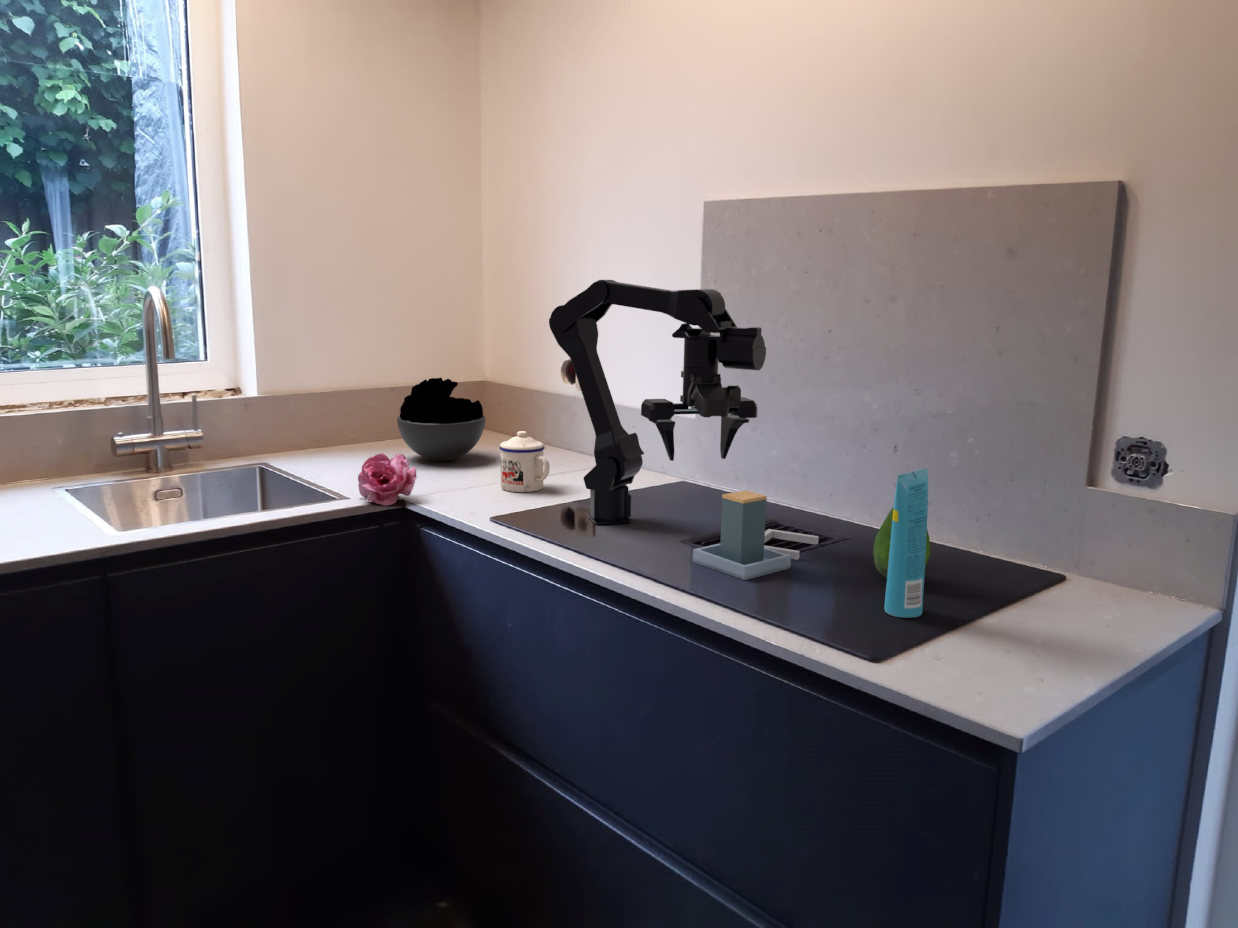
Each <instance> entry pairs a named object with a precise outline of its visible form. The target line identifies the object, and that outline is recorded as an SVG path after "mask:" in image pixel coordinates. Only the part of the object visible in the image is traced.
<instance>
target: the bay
mask: <svg viewBox="0 0 1238 928" xmlns="http://www.w3.org/2000/svg"><path fill="white" fill-rule="evenodd" d="M771 539H778V540H784V541H790V542H796V543H802V544H803V543H804V544H809V545H818V544H819V535H812V534H805V533H798V532H793V531H786V530H778V529H773V528H772V529H771V528H768V529H765V539H764V547H765V548H769V549H772V550H775V551H778V552H781V553H784V554H787V555H791V560H793V561H798V560H799V559H800V552H801V551H800V550H795V549H789V548H783V547H776V546H771V545H765V543H767V542H769V540H771Z"/></svg>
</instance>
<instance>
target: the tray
mask: <svg viewBox="0 0 1238 928" xmlns="http://www.w3.org/2000/svg"><path fill="white" fill-rule="evenodd" d="M791 562H792V559H791V555H787V554H784V553H781V552H778V551H775V550H772V549H769V548H765V547H764V559H763V561H759V562H755V563H751V564H747V565H743V564H740V563H737V562H734V561H731V560H728V559H725V558H722V557H720V542H719V543H717V544H716V543H715V544H711V545H707V546H702V547H699V548H694V549H692V563H694V564H697V565H701V566H703V567H706V568H709V569H712V570H715V571H718V572H721V573H723V574H725V575H728V576H731V577H733V578H737V579H739V580H742V581H747V580H750V579H754V578H758V577H762V576H766V575H770V574H773V573H778V572H781V571H784V570H785V571H786V570H789V569H791V564H792V563H791Z"/></svg>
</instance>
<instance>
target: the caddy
mask: <svg viewBox="0 0 1238 928" xmlns="http://www.w3.org/2000/svg"><path fill="white" fill-rule="evenodd" d="M721 496H722V497H721V514H720V515H721V516H720V517H721V520H720V522H721V523H720V542H719V543H720V557H722V558H725V559H728V560H731V561H734V562H737V563H740V564H743V565H747V564H751V563H755V562H759V561H763V559H764V545H765V543H764V539H765V531H766V517H767V516H766V515H767V499H768V498H767V497H768V496H767V495H765V494H761V493H756V492H754V491H749V490H746V489H745V490H741V491H735V492H729V493H728V492H727V493H724V494H722V495H721Z"/></svg>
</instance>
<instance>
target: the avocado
mask: <svg viewBox="0 0 1238 928" xmlns="http://www.w3.org/2000/svg"><path fill="white" fill-rule="evenodd" d="M893 509H894V506H892V507H891V509H890V510H889V512H888V513H887V515H886V517H885V519H884V520H883V522H882V524H881V525H880V527H879V529H878V532H877V534H876V536H875V538H874V544H873V548H872V555H873V561H874V562H873V563H874V566H875V567H876V570H877V572H878V573H879V574H881V575H882V576H883V577H884V578H886V579H887V573H888V562H889V552H890V541H891V530H892V518H893ZM928 531H929V530H928V529H927V535H926V555H925V567H926V566H927V565H928V564H927V563H928V561H929V558H930V555H931V542H930V540H931V539H930V535H929V532H928Z"/></svg>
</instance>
